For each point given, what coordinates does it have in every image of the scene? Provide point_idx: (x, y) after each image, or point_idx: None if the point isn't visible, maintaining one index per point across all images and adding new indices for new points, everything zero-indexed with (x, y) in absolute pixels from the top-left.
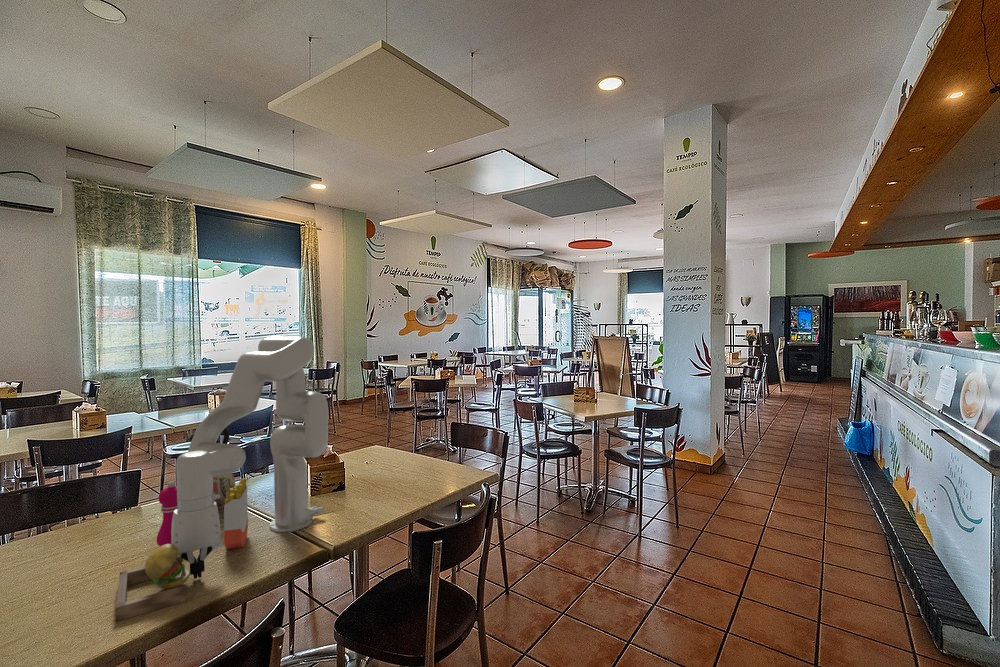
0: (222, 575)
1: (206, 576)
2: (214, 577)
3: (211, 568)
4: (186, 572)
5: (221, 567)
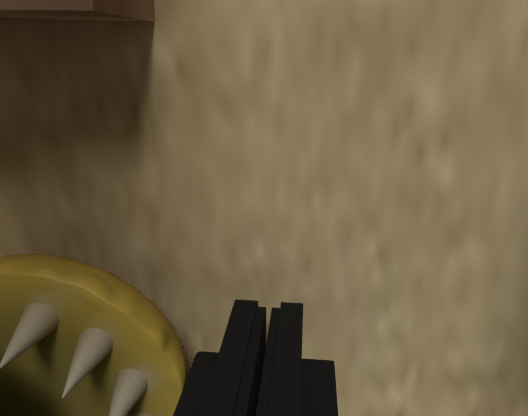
0: (468, 378)
1: (349, 307)
2: (402, 369)
3: (425, 166)
4: (160, 400)
5: (513, 212)
